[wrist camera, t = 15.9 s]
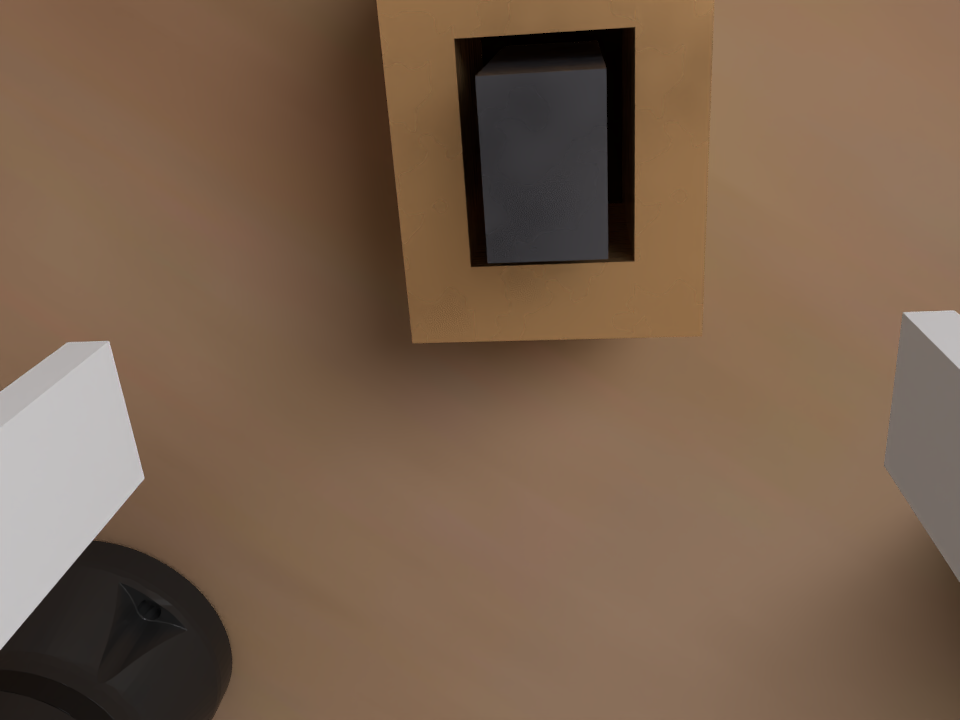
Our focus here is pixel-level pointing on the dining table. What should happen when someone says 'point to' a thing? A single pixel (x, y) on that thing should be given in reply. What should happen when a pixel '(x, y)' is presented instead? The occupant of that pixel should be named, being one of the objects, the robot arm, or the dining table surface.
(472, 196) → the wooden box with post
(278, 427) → the dining table surface
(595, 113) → the dark grey block
